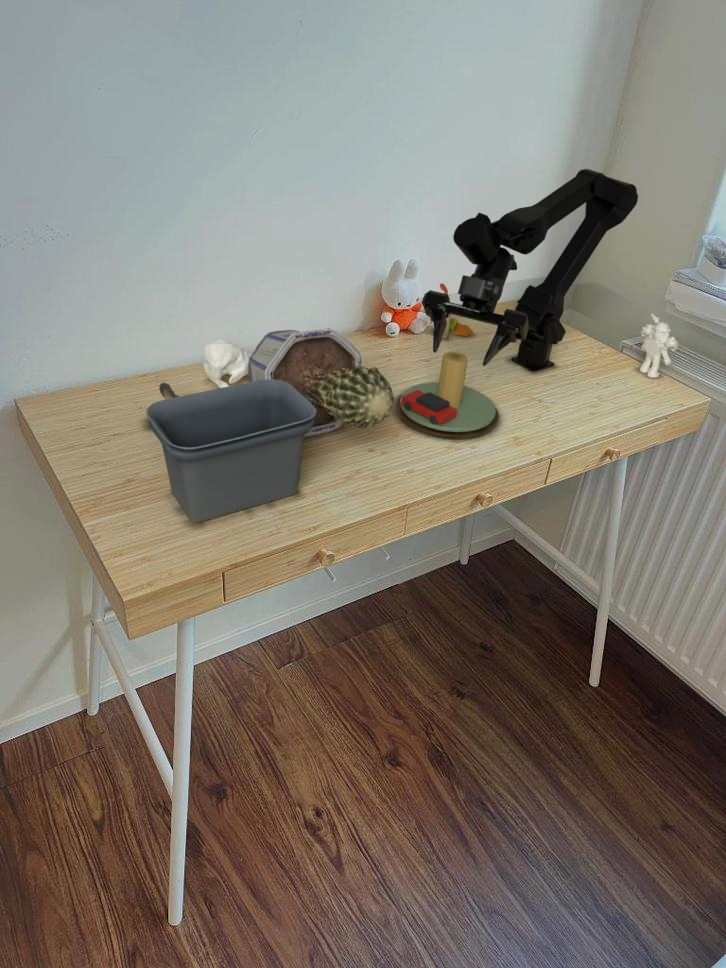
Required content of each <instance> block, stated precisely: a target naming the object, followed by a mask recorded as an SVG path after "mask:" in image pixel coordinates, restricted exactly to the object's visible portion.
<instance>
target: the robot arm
mask: <svg viewBox="0 0 726 968" xmlns="http://www.w3.org/2000/svg"><path fill="white" fill-rule="evenodd" d="M638 200H639V193H638V189H637V187H636V185H634V184H633V183H629V182H627V181H623V180H620V179H617V178H613V177H610V176H606V174H605V173H603V172H599V171H596V170H593V169H589V168H584V169H580V170H578V172H577V173H576V175H575V176H574V177H573V178H571V179H570V180H568V181H566V182H565V183H564V184H562V185H561V186H559V187H558V188H557V189H555V190H553V192H551V193H550V194H548V195H547V196H545V197H544V198H542V199H541V200H539V201H538V202H537V203H535V204H532V205H530V206H524V207H518V208H515V209H513V210H511V211H509V212H507V213H505V214H504V215H502V216H501V217H500V218H499V219H497V220H495V221H493V222H492V221H491V218H490V217H489V216H488V214H484V213H482V212H478V213H477V214H476V216H475V217H470V218H468V219H466V220H464V221H462V223H460V224H458V225H457V227H456V229H455V230H454V232H453V236H452V239H453V242H454V244H455V245H456V246H457V248H458V249H459V250H460V252H462V254H463V255H464V257H465V258H466V259H467V260H468V261H469V262H470V264H473V265H476V268H475V270H474V272H473V273H472V274H471V275H470V276H468V275H465V274H464V275H462V277H461V280H460V283H459V287H458V291H457V295H459V301H460V302H462V303H461V304H459V303H456V302H455V303H454V302H451V300H450V301H449V298H450V296H449V297H448V295H449V293H448V294H444V292H440V291H436V290H431V289H430V290H428V291H427V292H425V293H424V295H423V297H422V300H421V305H422V307H423V311H424V313H425V315H426V316H427V317H428V318H429V319H430V321H431V322H432V323H433V324H432V325H433V339H432V352H433V353H434V354H436V353H437V351H438V350H439V348H440V346H441V343H442V340H443V339H442V337H443V334H444V331H445V329H446V326H447V321H446V318H448V316H449V314H450V315H453V316H458V317H461V318H465V319H469V320H473V321H477V322H480V323H481V322H482V323H486V324H489V325H493V326H497V327H496V331H495V333H494V336H493V338H492V340H491V342H490V344H489V346H488V349H487V351H486V353H485V355H484V358H483V360H482V366H483V367H487V365H488V364H489V363H490V362H491V361H492V360H493V359H494V358H495V357H496V356H497V355H498V354H499V353H500V352H501V351H502V350H503V349H505V347H507V346H508V345H509V344H511V343H513V344H515V343H517V342H518V340H519V341H520V343H519V346H518V351H517V355H516V356H512V357H511V358H510V360H511V361H512V362H513V363H515V364H518V365H519V366H521V367H523V368H525V369H526V370H528V371H530V372H532V373H535V372H539V371H541V370H545V369H549V368H551V367H555V362H553V361H551V360H550V357H551V353H552V350H553V349H552V348H553V345H554V346H556V345H558V343H560V342H562V341H563V339H564V337H565V335H566V333H567V331H566V329H565V327H564V325H563V324H562V322H561V318H562V316H563V314H564V308H565V307H564V306H565V296H566V295H567V293H568V292H569V290H570V289H571V287H572V286H573V284H574V282H575V281H576V279H577V277H578V276H579V274H580V273H581V272H582V270H583V269H584V267H585V266H586V264H587V262H588V261H589V259H591V256H592V255H593V254H594V251H595V250H596V249H597V248H598V246H599V244H600V242H601V241H602V239H603V238H604V237H605V235H606V234H607V233H608V231H610V230H611V229H614V228H615V227H617V226H619V225H620V224H622V223H623V222H624V221H625V220H626V219H627V218H628V216H629V215H630V213H632V211H633V210H634V209H635V207H636V206H637V204H638ZM584 204H585V210H584V211H585V213H584V218H583V220H582V221H581V223H580V224H579V226H578V227H577V229H576V231H575V232H574V234H573V235H572V237H571V238H570V240H569V241H568V243H567V245H566V246H565V248H564V249H563V251H562V252H561V254H560V256H559V257H558V258H557V260H556V261H555V263H554V265H553V266H552V268H551V269H550V271H549V272H548V273H547V276H546V277H545V278H544V280H543V282H542V283H540V284H538V285H537V286H533V285H532V284H529V285H528V286H527V287H526V288H525V289H524V292H523V294H522V295H521V296H520V298H519V299H518V300H517V301H516V303H517V305H516V306H515V309H510V308H506V309H505V310H504V311H503V314H500V313H495V310H496V307H497V305H498V302H499V301H500V299H501V297H502V294H503V292H504V286H505V284H506V281H507V278H508V275H509V273H510V271H517V270H518V264H517V262H516V260H515V255H514V254H511V253H510V251H509V250H512V251H514V252H516V253H519V254H521V255H529V254H531V253H532V252H533V251H535V250H536V248H537V247H539V245H540V244H542V243H543V242H544V241H546V238H547V234H548V231H549V230H550V229H551V228H553V226H555V225H556V224H558V223H559V222H561V221H562V220H563V219H565V218H566V217H567V216H570V214H572V213H573V212H574V211H576V210H578V209H579V208H581V207H582V206H583V205H584Z"/></svg>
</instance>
